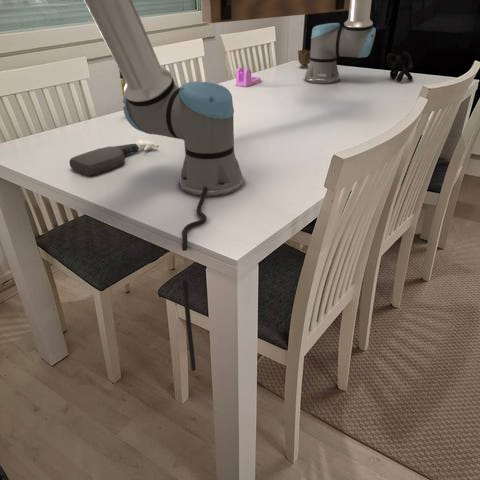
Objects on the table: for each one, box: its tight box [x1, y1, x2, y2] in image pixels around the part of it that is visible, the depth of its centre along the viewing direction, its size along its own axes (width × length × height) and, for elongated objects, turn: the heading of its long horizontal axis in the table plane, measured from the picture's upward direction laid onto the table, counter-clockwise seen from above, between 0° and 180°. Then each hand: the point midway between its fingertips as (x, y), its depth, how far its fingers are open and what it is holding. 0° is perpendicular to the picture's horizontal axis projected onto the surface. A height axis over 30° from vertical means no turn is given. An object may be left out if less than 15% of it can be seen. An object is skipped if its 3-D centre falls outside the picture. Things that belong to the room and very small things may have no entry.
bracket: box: [235, 67, 262, 88], centre depth 199 cm, size 13×6×7 cm, turn 143°
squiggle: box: [385, 51, 414, 83], centre depth 198 cm, size 11×10×15 cm
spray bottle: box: [68, 139, 160, 177], centre depth 124 cm, size 3×11×24 cm
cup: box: [297, 49, 311, 69], centre depth 225 cm, size 8×7×8 cm
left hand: (221, 18), depth 119 cm, fingers closed on bar, 5 cm apart
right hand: (333, 8), depth 139 cm, fingers closed on bar, 5 cm apart
